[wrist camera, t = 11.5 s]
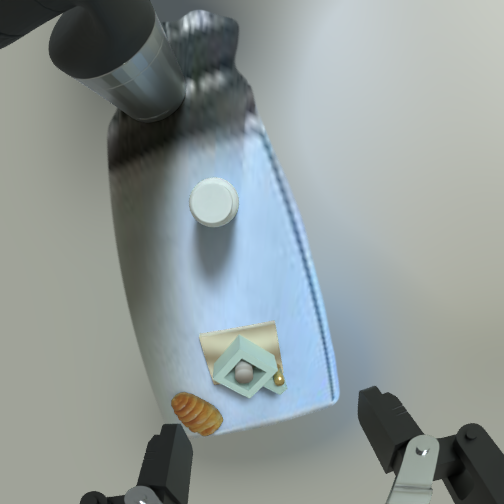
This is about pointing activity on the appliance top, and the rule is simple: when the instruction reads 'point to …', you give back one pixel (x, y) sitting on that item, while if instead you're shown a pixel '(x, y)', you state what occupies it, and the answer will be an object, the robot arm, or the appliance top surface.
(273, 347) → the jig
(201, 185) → the supplement bottle
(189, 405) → the pastry
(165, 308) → the appliance top surface
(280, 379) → the pin
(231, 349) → the pale green hollow block
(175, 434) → the robot arm
